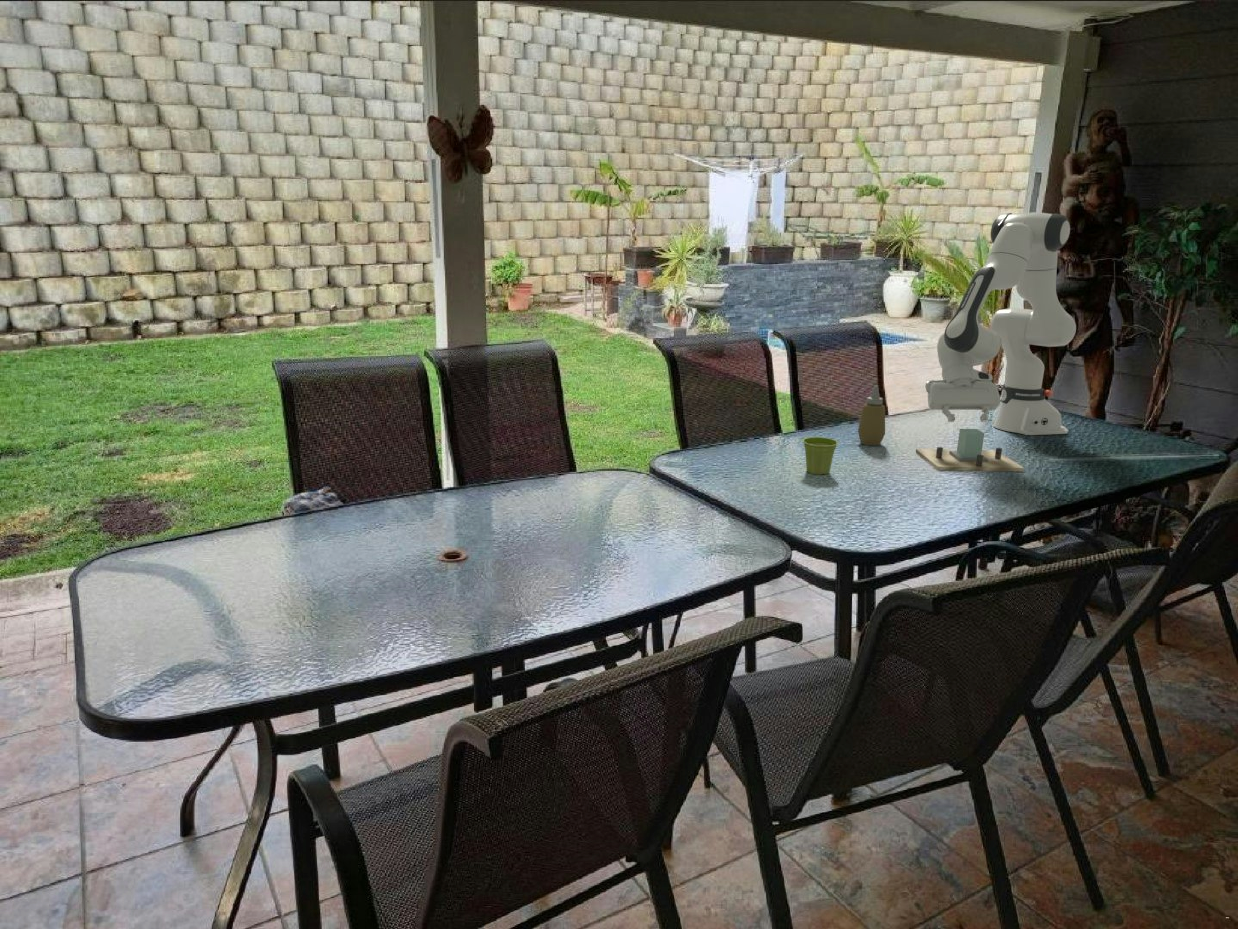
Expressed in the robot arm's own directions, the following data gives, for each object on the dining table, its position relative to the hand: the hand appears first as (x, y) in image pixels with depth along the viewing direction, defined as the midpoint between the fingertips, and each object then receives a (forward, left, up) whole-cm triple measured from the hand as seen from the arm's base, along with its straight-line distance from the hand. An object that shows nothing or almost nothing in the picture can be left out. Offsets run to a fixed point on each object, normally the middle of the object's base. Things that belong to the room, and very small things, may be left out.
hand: (968, 420), depth 249 cm
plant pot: (+46, +16, -11) cm, 50 cm away
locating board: (0, +4, -11) cm, 12 cm away
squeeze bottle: (+23, -14, -11) cm, 29 cm away
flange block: (0, +4, -10) cm, 11 cm away
